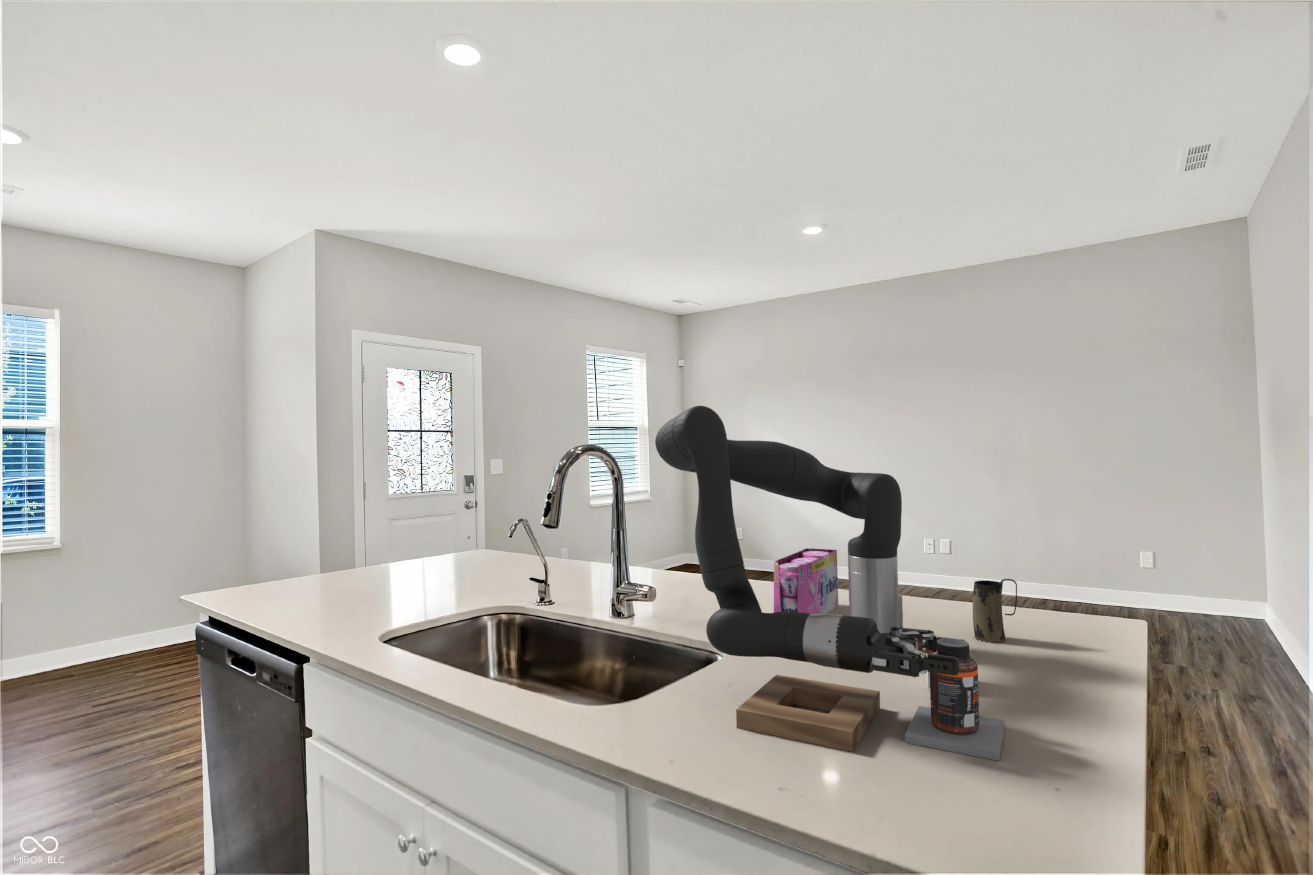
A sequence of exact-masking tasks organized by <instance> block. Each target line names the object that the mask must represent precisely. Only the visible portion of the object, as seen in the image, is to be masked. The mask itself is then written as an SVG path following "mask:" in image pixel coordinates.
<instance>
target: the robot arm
mask: <svg viewBox="0 0 1313 875" xmlns="http://www.w3.org/2000/svg"><path fill="white" fill-rule="evenodd" d="M727 437H728V436H727V431H726V427H725V424H724V422H723V419H722V418H721V417H720V415H719V414H718V413H717V412H716V411H715V410H714V409H712V408H710V407H708V406H705V405H696V406H693V407H690V408H688V409H686V410H684V411H683V412H681V413H680V414H678V415H677V416H674V417H673V418H671V419H669V420H668V421H667V422H666V423H664V424H663V425H662V426H661V427H660V428H659V430H658V431H657V433H656V436H655V440H654V442H655V443H654V444H655V450H656V452H657V454H659V457H660V458H661V459H662V460H663V461H664V462H665V463H666V464H667V465H669V466H670V467H672V468H674V469H676V470H679V471H683V472H689V473H695V475H696V477H697V479H696V480H697V485H698V486H697V487H698V499H697V500H698V503H697V512H696V519H695V527H694V540H695V549H696V556H697V559H698V563H699V569H700V573H701V578H702V581H703V584H704V587H705V589H706V590H707V591H709V592H711V593H713V594H714V595H715V598H716V600H717V603H718V606H719V609H718V610H716V611H715V612H713V613H712V615H711V616H710V617H709V619H708V621H707V624H706V627H705V628H706V630H705V631H706V637H707V639H708V642H709V643H710V645H711V646H712V647H713V649H715V650H716V651H718V652H719V653H723V654H725V655H728V656H732V657H744V658H745V657H746V658H747V657H749V658H751V657H752V658H753V657H755V658H756V657H757V658H781V659H786V660H790V661H795V662H805V663H811V664H813V665H818V666H821V667H825V668H832V669H839V670H846V671H852V672H853V671H854V672H859V673H866V674H871V673H873V672H874V671H875V672H881V673H886V674H887V673H888V674H894V675H901V676H905V677H907V676H908V677H912V678H918V677H920V675H923V674H924V675H925V674H926V673H927V670H928V672H933V673H940V674H947V675H954V676H956V675H958V673H959V660H958V658H957V657H953V656H945V655H937V654H934V653H938V651H937V649H936V648H937V640H939V639H944V638H946V637H942V636H937V634H935V632H934V631H933V630H931V629H918V628H909V627H908V628H907V627H904V618H903V617H904V615H903V594H901V593H899V574H898V573H899V571H898V569H899V568H898V567H899V566H898V547H899V545H900V541H901V535H902V508H903V507H902V506H903V505H902V504H903V503H902V502H903V500H902V490H901V488H900V484H899V483H898V481H897V479H895V478H894V477H893V476H892V475H891V474H887V473H882V472H881V473H879V472H854V471H853V472H851V471H845V470H840V469H835V468H832V467H828V466H826V465H824V464H823V463H821V461H820V460H819V459H818V458H817V457H815V455H813V454H811V453H810V452H808V451H806V450H804V449H801V448H799V447H795V446H791V445H790V444H786V443H783V442H778V441H774V440H773V441H769V440H737V439H736V440H735V439H734V440H733V439H728V438H727ZM731 481H733V482H735V483H740V484H743V485H746V486H748V487H753V488H756V489H760V490H762V491H766V492H768V493H770V494H771V493H772V494H775V495H779V496H782V497H786V498H790V499H793V500H798V501H805V502H813V503H817V504H821V505H822V506H823V505H824V506H826V507H828V508H831V509H832V510H835V511H837V512H839V513H842V514H843V515H846V516H847V517H850V518H853V519H859V520H864V522H863V524H864V526H863V531H862V533H861V534H859V535H858V536H856V537H852V538H850V539H849V540H848V542H847V567H848V568H847V569H848V573H847V574H848V601H849V602H848V603H849V604H848V607H849V612H848V614H849V615H843V614H837V613H836V614H835V613H827V614H810V613H801V612H792V611H780V612H775V613H774V612H762V608H761V605H760V603H759V601H758V598H757V596H756V594H755V591H754V588H753V586H752V585H751V583H750V581H749V578H748V576H747V574H746V567H745V562H744V559H743V555H742V550H741V546H740V541H739V537H738V533H737V532H738V531H737V528H736V527H737V526H736V522H735V521H736V520H735V515H734V507H733V498H732V482H731ZM950 638H951V639H954V638H952V637H950ZM958 639H959V638H958ZM959 640H963V641H965V640H964V639H963V638H962V639H959ZM923 641H924V642H923ZM931 653H932V654H931ZM926 654H927V657H926Z"/></svg>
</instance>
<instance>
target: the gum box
mask: <svg viewBox="0 0 1313 875" xmlns="http://www.w3.org/2000/svg"><path fill="white" fill-rule="evenodd" d="M838 577H839V576H838V550H837V549H828V548H814V547H813V548H811V547H810V548H809V547H807V548H803V549H801V550H799V551H797V552H794V553H792V554H789V555H787V556H784V557H782V558H779V559H776V560H774V561H773V613H775V612H780V611H792V612H801V613H810V614H829V613H830V612H832V611H833V610H834V609H835V608H838V606H839V584H838V582H839V580H838Z"/></svg>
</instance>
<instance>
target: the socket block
mask: <svg viewBox="0 0 1313 875" xmlns="http://www.w3.org/2000/svg"><path fill="white" fill-rule="evenodd" d="M793 705H797V706H802V707H808V708H814V709H819V710H825V711H829V712H828V713H826V712H825V713H824V712H820V711H813V710H811V709H810V710H808V709H803V708H797V707H793ZM880 709H881V692H880V690H876V689H868V688H863V687H855V686H850V685H843V684H837V683H831V682H825V681H824V682H823V681H819V680H813V679H806V678H800V677H793V676H787V675H782V674H776V675H775V676H773V677H771V679H770V680H769V681H767V682H766V683H765V684H764V685H763V686H761V687H760V688H759V689H758V690H757V691H755V692H754V694H752V695H751V696H750V697H749V698H748V699H746V700H745V701H744V702H743V703H742V704H740V705H739V706H738V707H737V708H736V710H735V711H736V712H735V713H736V714H735V716H736V729H737V728H738V729H743V730H746V731H752V732H756V733H760V734H766V735H770V736H771V735H772V736H774V737H775V736H776V737H780V738H786V739H791V740H796V741H800V742H804V743H810V744H814V745H818V746H823V747H828V748H834V749H838V750H844V751H848V752H854V750H855V749H856V747H857V746H858V744H859V742H860V741H861V739H862V737H864V735H865V733H866V731H867V730H868V728H869V726H870V725H871V723H872V722H873V720H874V718H875V717H876V715H877V714H878V713H879V711H880Z"/></svg>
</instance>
